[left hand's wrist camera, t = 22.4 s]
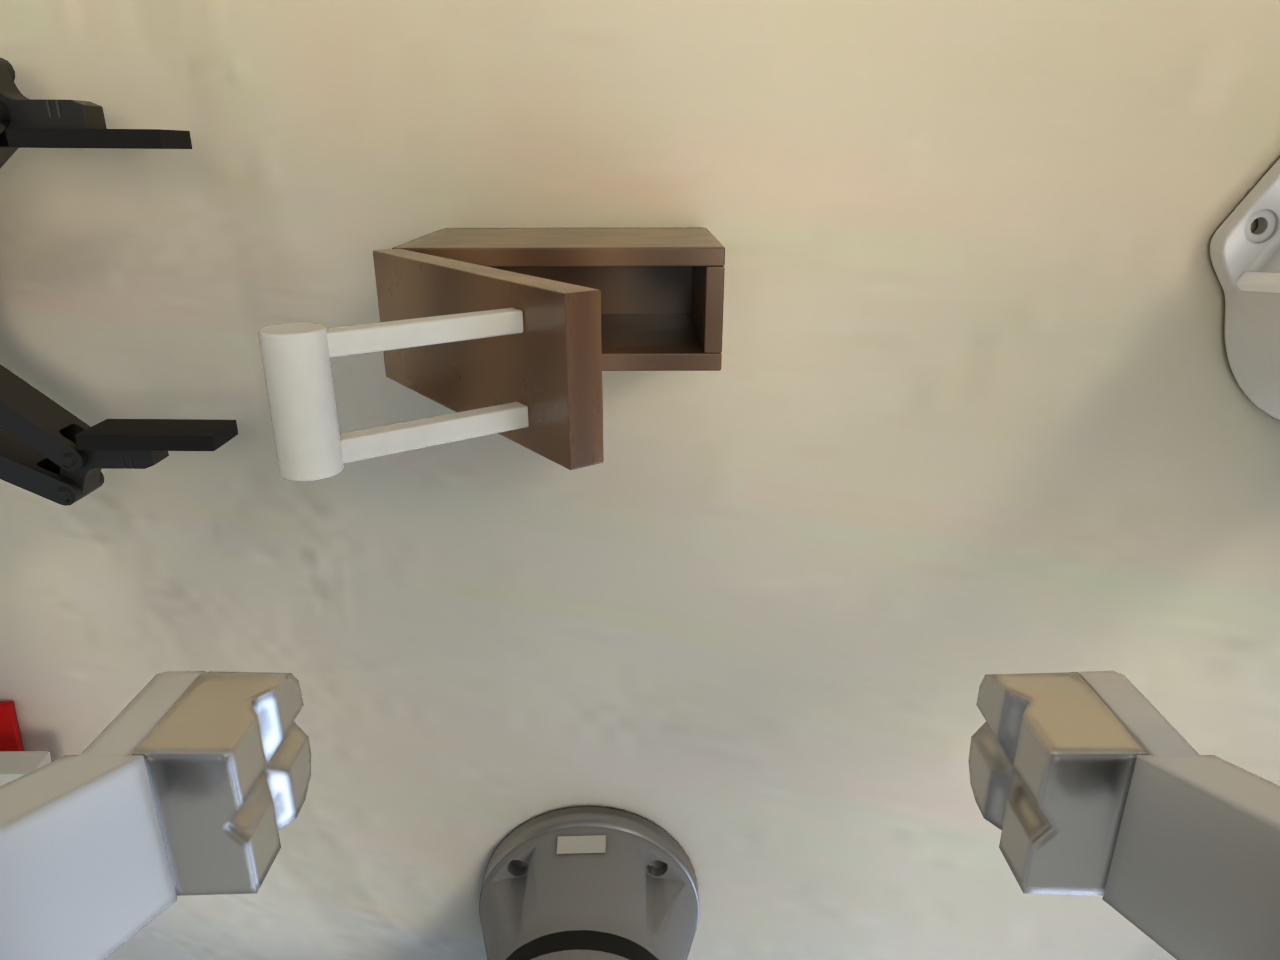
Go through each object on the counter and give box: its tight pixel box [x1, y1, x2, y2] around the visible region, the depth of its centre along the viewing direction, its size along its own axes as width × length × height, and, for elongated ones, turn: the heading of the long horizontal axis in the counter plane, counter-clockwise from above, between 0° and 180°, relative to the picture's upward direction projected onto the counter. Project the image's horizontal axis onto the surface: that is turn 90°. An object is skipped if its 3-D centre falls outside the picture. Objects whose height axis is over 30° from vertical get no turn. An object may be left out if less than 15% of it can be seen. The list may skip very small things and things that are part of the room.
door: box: [258, 249, 603, 481], centre depth 29 cm, size 15×5×9 cm
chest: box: [392, 228, 725, 371], centre depth 42 cm, size 14×5×11 cm, turn 90°
